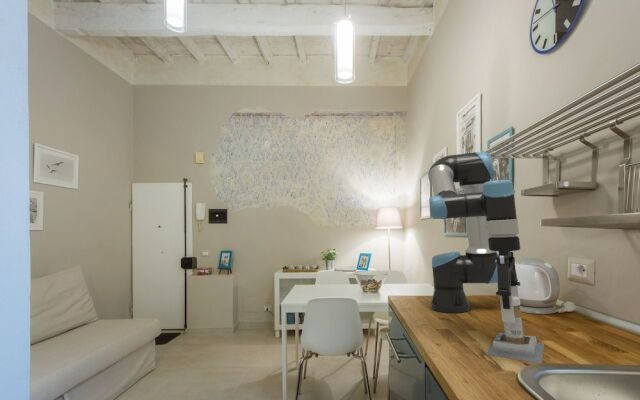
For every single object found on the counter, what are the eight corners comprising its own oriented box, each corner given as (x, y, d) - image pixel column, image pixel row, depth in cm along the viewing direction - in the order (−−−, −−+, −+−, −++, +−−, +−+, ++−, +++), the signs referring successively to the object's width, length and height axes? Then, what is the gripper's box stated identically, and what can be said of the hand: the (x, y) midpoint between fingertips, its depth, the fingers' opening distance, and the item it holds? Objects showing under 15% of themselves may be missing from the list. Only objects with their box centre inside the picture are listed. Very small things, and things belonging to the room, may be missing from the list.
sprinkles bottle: (525, 347, 87) (520, 295, 88) (525, 352, 83) (519, 299, 85) (506, 344, 90) (500, 294, 91) (505, 350, 86) (499, 297, 87)
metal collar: (499, 341, 93) (498, 332, 93) (537, 346, 87) (535, 336, 88) (494, 351, 85) (493, 341, 86) (535, 357, 80) (533, 346, 80)
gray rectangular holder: (495, 340, 96) (495, 337, 96) (544, 346, 89) (544, 343, 89) (486, 358, 83) (485, 354, 83) (542, 367, 76) (541, 363, 76)
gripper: (494, 234, 102) (502, 303, 100) (479, 238, 82) (488, 325, 80) (522, 233, 97) (531, 306, 95) (513, 237, 77) (524, 329, 75)
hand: (511, 315), depth 88 cm, fingers open, 13 cm apart
